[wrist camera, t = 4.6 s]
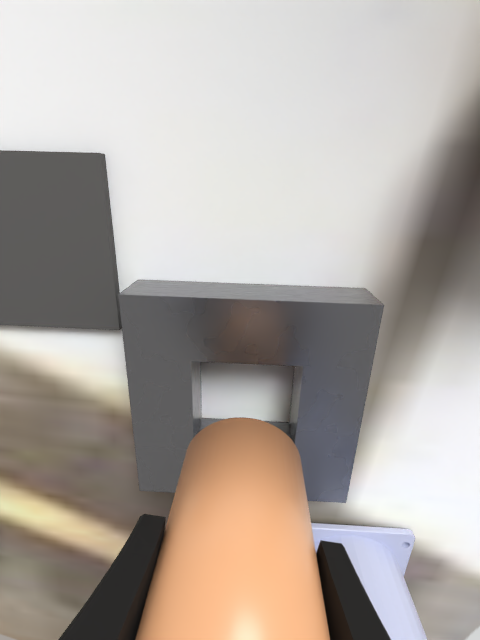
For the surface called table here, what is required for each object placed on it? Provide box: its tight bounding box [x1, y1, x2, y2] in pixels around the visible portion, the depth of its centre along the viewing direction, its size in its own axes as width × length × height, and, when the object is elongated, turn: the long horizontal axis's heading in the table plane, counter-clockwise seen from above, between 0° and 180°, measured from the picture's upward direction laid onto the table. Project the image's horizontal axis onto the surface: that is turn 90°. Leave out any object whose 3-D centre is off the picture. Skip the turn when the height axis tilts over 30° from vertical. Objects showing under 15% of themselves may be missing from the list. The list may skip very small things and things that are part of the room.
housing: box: [118, 280, 384, 503], centre depth 17 cm, size 11×11×2 cm
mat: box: [0, 151, 122, 330], centre depth 16 cm, size 8×8×1 cm
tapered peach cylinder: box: [135, 418, 330, 640], centre depth 8 cm, size 4×4×9 cm
